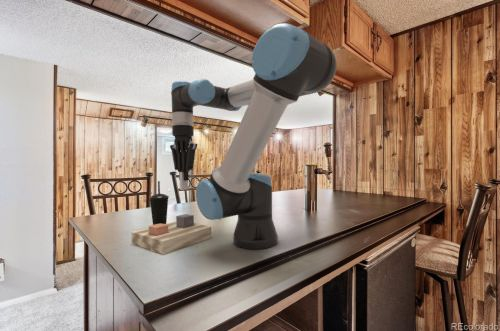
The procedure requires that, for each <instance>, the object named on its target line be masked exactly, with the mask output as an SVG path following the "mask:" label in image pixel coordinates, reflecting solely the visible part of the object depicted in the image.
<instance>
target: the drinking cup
mask: <svg viewBox="0 0 500 331" xmlns="http://www.w3.org/2000/svg"><path fill="white" fill-rule="evenodd" d="M160 185H161V181H160V180H159V181H158V180H157V193H155V194H153V195H151V196H149V197H148V199H149V203H150V211H151V221H152V225H155V224H160V223H161V224H167V218H168V207H169V206H168V205H169V198H170V197H169V195H167V194H164V193H161V186H160Z"/></svg>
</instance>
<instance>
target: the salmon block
mask: <svg viewBox="0 0 500 331" xmlns="http://www.w3.org/2000/svg"><path fill="white" fill-rule="evenodd" d="M166 224H167V223H166ZM166 224H161V223H160V224H155V225H153V224H151V225H148V228H149V234H150V235H153V236H159V235H162V234H166V233H168V225H166Z"/></svg>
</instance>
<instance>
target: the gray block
mask: <svg viewBox="0 0 500 331" xmlns="http://www.w3.org/2000/svg"><path fill="white" fill-rule="evenodd" d="M194 217H195V216H194V214H188V213H186V214H180V215H176V216H175V220H176V221H175V222H176V225H177V227H179V228H188V227H192V226H194V223H195V218H194Z"/></svg>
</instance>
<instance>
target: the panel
mask: <svg viewBox="0 0 500 331" xmlns="http://www.w3.org/2000/svg"><path fill="white" fill-rule="evenodd" d="M166 225H168V233H166V234H162V235H159V236H153V235H150V234H149V227H147V228H144V229H139V230H135V231H131V244H132V245H134V246H137V247H140V248H142V249H146V250H148V251H150V252H151V251H152V252H154V253H158V254H160V255H163V256H164V255H165V254H169V253H172V252H174V251H177V250H180V249H183V248H186V247H189V246H191V245H195V244H197V243H201V242H203V241H206V240H209V239H212V237H213V236H212V226H209V225H204V224H200V223H195V222H194V226H192V227H188V228H179V227H177V225H176V221H173V222H168V223H166Z"/></svg>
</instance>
